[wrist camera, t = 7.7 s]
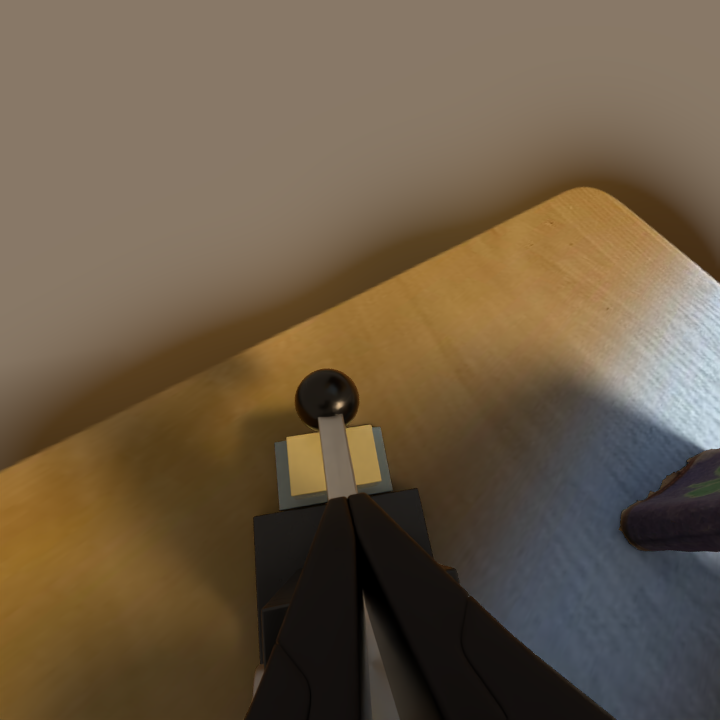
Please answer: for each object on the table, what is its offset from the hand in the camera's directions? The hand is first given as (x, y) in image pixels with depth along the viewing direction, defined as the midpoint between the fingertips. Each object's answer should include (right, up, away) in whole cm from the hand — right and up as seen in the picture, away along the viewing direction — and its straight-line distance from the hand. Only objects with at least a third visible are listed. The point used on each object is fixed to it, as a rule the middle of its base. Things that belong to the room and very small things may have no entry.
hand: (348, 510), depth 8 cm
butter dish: (-1, -3, +14) cm, 14 cm away
